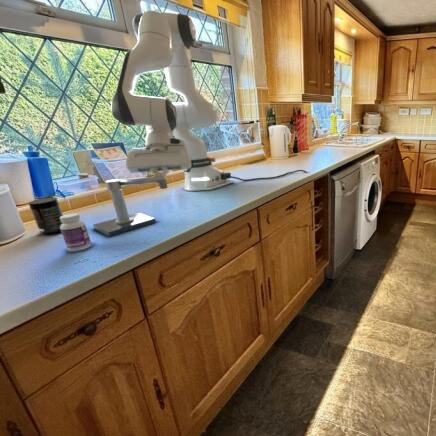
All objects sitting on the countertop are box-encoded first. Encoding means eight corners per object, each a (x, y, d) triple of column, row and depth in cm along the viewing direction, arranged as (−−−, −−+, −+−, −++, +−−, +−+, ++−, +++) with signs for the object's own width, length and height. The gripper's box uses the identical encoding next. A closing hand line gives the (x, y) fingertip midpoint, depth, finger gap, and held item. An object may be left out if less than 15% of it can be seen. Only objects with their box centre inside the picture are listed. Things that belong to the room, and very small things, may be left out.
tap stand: (139, 216, 109) (130, 183, 105) (155, 222, 102) (147, 187, 98) (94, 228, 98) (82, 192, 94) (109, 236, 92) (97, 198, 87)
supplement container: (73, 228, 100) (62, 197, 96) (51, 236, 93) (39, 204, 90) (57, 227, 101) (46, 197, 97) (35, 235, 95) (22, 203, 91)
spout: (106, 194, 94) (102, 181, 93) (111, 191, 98) (108, 179, 96) (166, 189, 98) (163, 177, 97) (168, 186, 102) (166, 174, 100)
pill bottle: (94, 247, 85) (83, 214, 81) (70, 253, 81) (58, 220, 78) (89, 242, 88) (79, 211, 85) (66, 248, 84) (54, 216, 81)
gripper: (123, 143, 102) (120, 177, 97) (187, 139, 107) (188, 172, 102) (131, 154, 108) (128, 187, 102) (192, 150, 113) (193, 182, 107)
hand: (159, 179), depth 102 cm, fingers closed
